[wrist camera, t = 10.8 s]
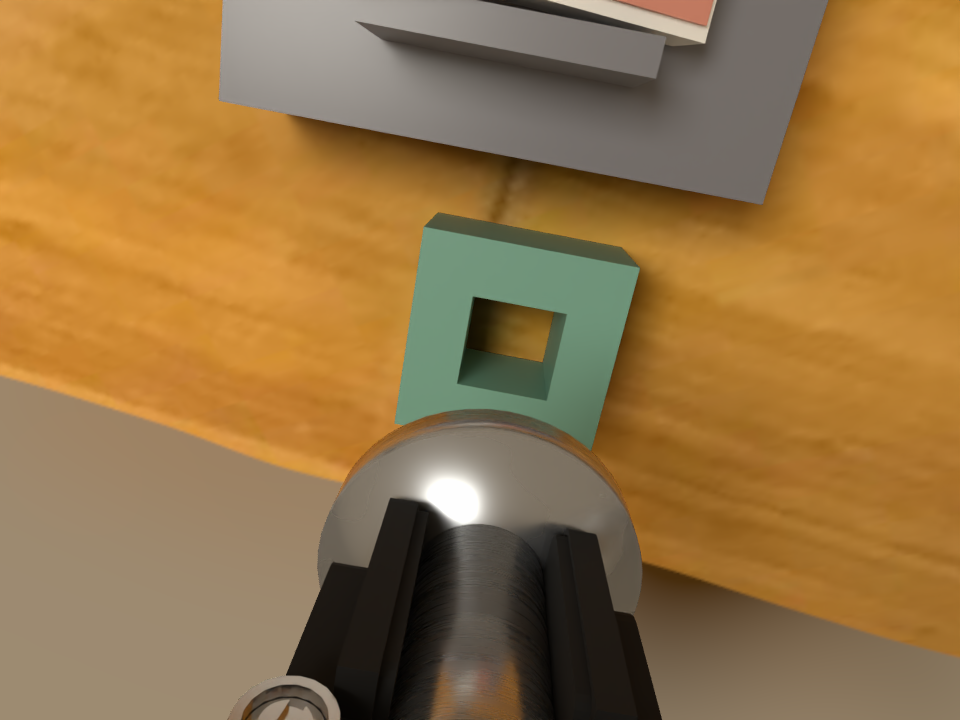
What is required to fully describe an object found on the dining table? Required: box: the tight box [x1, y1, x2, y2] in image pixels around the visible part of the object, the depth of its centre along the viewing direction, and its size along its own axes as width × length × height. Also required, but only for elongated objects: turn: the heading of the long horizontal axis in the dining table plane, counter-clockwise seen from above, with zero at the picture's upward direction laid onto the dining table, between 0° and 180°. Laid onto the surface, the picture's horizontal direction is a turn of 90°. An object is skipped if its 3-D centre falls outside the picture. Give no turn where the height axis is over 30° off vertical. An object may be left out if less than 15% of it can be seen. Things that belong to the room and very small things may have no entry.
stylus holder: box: [395, 212, 640, 451], centre depth 27 cm, size 8×8×4 cm
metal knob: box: [318, 409, 642, 720], centre depth 11 cm, size 6×6×12 cm
